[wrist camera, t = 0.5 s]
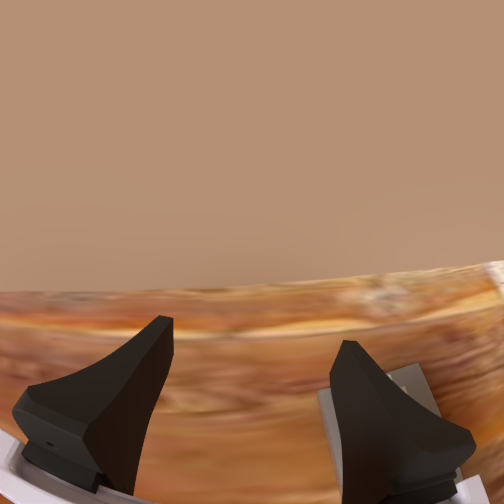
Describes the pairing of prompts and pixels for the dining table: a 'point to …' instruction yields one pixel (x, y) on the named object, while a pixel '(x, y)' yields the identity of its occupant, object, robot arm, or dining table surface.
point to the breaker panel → (408, 381)
